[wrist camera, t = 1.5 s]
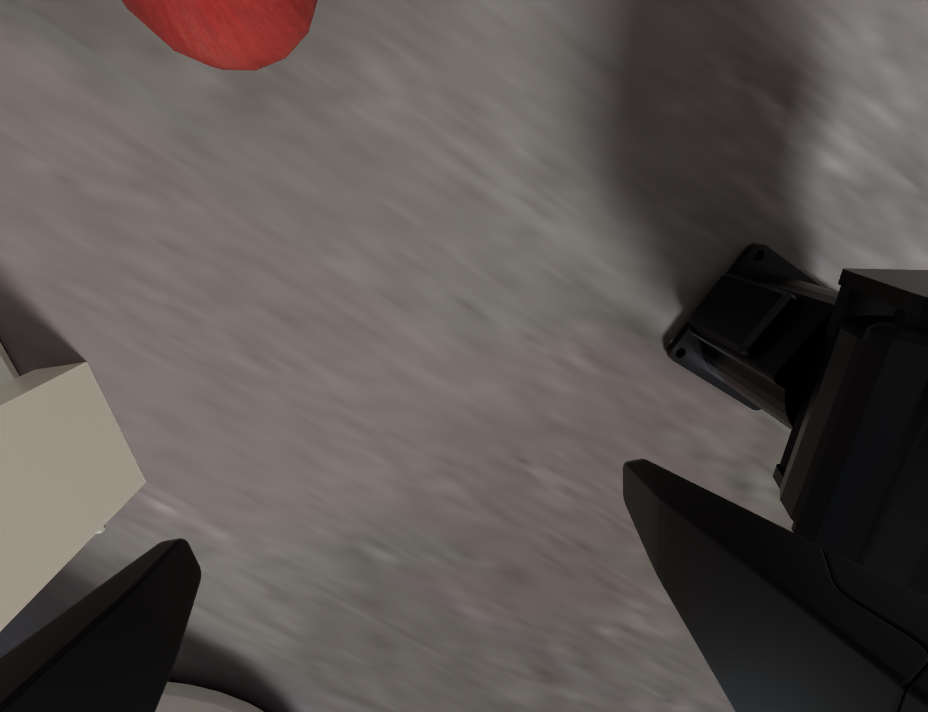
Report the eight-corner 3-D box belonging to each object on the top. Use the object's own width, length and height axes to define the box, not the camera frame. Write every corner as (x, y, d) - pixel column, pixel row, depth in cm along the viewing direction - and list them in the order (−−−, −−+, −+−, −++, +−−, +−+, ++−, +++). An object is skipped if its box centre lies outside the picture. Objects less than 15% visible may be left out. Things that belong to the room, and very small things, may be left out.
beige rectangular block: (86, 361, 21) (-192, 503, 12) (146, 482, 24) (-44, 676, 14) (31, 370, 21) (-292, 518, 12) (96, 489, 24) (-126, 689, 14)
